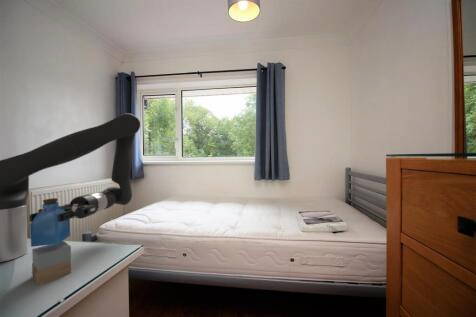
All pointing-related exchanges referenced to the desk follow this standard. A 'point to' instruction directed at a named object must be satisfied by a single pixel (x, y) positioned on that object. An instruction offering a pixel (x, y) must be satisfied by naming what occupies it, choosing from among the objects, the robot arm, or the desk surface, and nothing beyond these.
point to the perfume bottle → (49, 225)
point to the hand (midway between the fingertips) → (44, 218)
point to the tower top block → (51, 255)
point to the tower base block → (51, 272)
